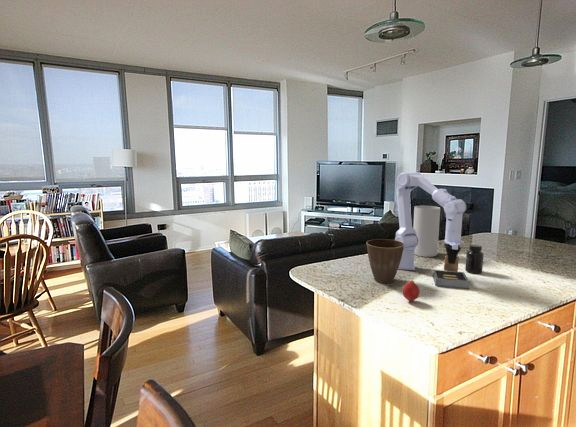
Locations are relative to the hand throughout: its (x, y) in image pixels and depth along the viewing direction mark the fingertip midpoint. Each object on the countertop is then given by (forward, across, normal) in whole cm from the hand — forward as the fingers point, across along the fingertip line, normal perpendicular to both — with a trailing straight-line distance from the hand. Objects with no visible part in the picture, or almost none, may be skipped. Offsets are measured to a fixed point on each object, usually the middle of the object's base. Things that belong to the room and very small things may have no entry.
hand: (451, 262), depth 144 cm
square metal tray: (+8, 0, 0) cm, 8 cm away
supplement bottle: (+9, +18, -12) cm, 23 cm away
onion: (+9, -25, +16) cm, 31 cm away
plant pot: (+9, -5, +26) cm, 28 cm away
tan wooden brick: (+3, 0, 0) cm, 3 cm away
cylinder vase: (+9, +43, +7) cm, 44 cm away
